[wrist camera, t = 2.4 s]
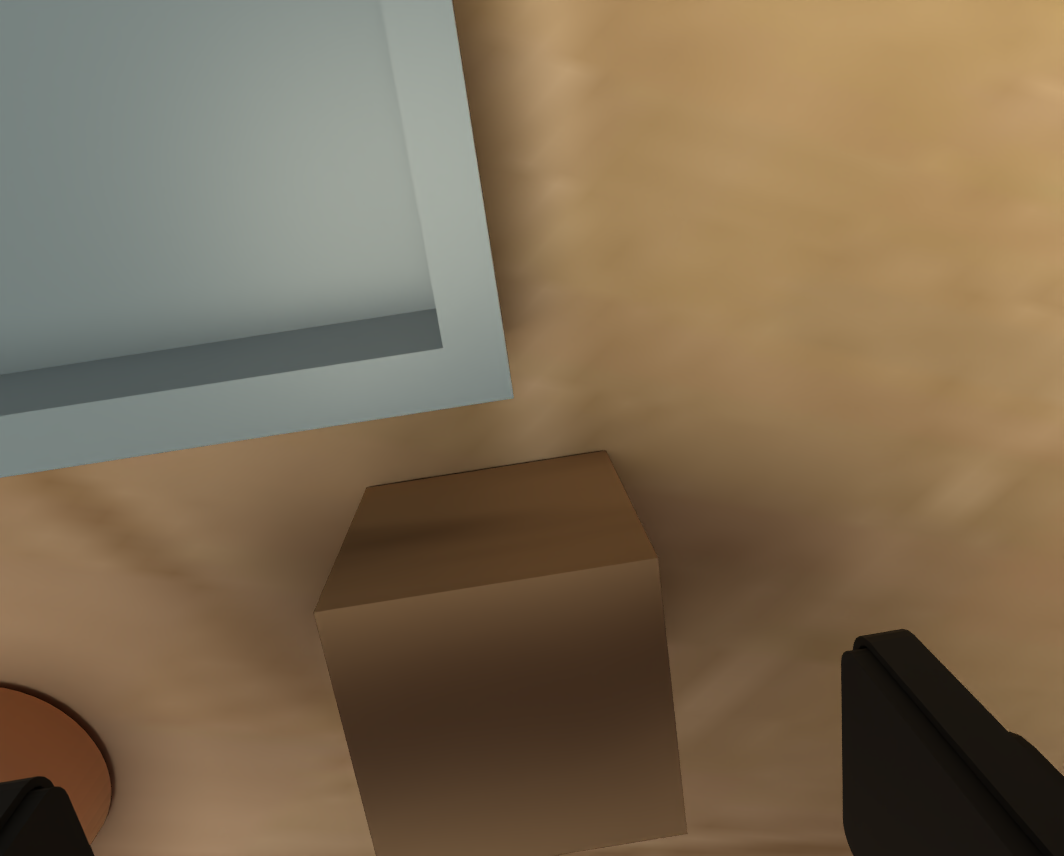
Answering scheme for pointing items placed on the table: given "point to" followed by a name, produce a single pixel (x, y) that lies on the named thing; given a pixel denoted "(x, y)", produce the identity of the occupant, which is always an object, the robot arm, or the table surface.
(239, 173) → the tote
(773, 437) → the table surface
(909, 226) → the table surface
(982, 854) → the robot arm
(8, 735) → the salmon orange cylinder
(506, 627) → the walnut cube
